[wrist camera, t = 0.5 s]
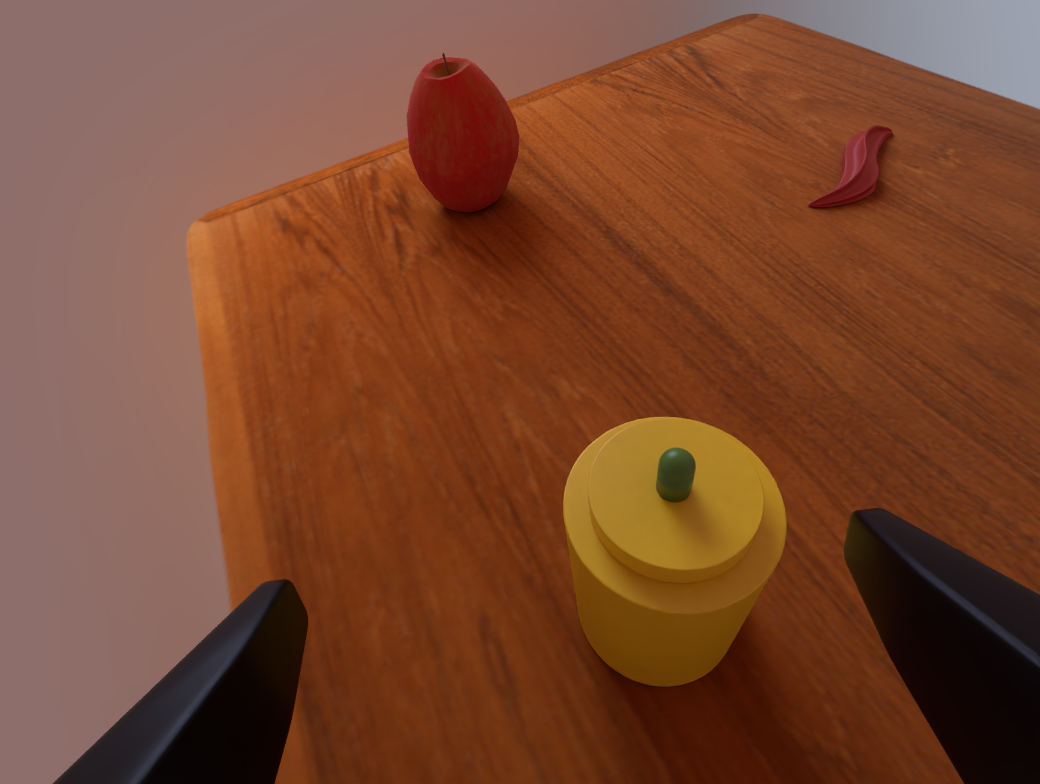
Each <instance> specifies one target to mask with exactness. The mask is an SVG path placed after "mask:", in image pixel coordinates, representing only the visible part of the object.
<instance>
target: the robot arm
mask: <svg viewBox="0 0 1040 784" xmlns="http://www.w3.org/2000/svg"><path fill="white" fill-rule="evenodd" d="M844 556H845V560H846V563H847V566H848V568H849V570H850V572H851V574H852V577H853V579H854V581H855V583H856V585H857V588H858V590H859V592H860V594H861V596H862V598H863V601H864V603H865V605H866V607H867V609H868V611H869V614H870V616H871V618H872V620H873V622H874V625H875V627H876V629H877V631H878V633H879V635H880V638H881V640H882V642H883V644H884V646H885V648H886V650H887V652H888V654H889V656H890V658H891V660H892V662H893V663H894V665H895V667H896V669H897V670H898V672H899V674H900V676H901V677H902V679H903V681H904V682H905V684H906V686H907V688H908V689H909V691H910V693H911V694H912V696H913V698H914V699H915V701H916V703H917V704H918V706H919V708H920V709H921V711H922V713H923V715H924V716H925V718H926V720H927V721H928V723H929V725H930V726H931V728H932V730H933V731H934V733H935V735H936V737H937V738H938V740H939V742H940V743H941V745H942V747H943V748H944V750H945V752H946V753H947V755H948V757H949V759H950V760H951V762H952V764H953V765H954V767H955V769H956V770H957V772H958V774H959V775H960V777H961V779H962V781H963V782H964V784H1040V595H1039V594H1037V593H1035V592H1034V591H1032V590H1030V589H1028V588H1026V587H1025V586H1023V585H1021V584H1019V583H1017V582H1015V581H1014V580H1012V579H1010V578H1008V577H1006V576H1005V575H1003V574H1001V573H999V572H997V571H995V570H994V569H992V568H990V567H988V566H986V565H985V564H983V563H981V562H979V561H977V560H976V559H974V558H972V557H970V556H968V555H966V554H965V553H963V552H961V551H959V550H957V549H956V548H954V547H952V546H950V545H948V544H947V543H945V542H943V541H941V540H939V539H937V538H936V537H934V536H932V535H930V534H928V533H927V532H925V531H923V530H921V529H919V528H917V527H916V526H914V525H912V524H910V523H908V522H907V521H905V520H903V519H901V518H899V517H898V516H896V515H894V514H892V513H890V512H888V511H886V510H884V509H881V508H873V509H865V510H857V511H854V512H853V513H852V514H851V516H850V519H849V524H848V529H847V534H846V539H845V545H844ZM307 629H308V615H307V611H306V609H305V607H304V605H303V603H302V601H301V599H300V597H299V595H298V593H297V591H296V589H295V587H294V585H293V583H292V582H291V581H289V580H286V579H283V580H275V581H267V582H264V583H262V584H261V585H260V586H258V587H257V588H256V589H255V590H254V591H253V592H252V593H251V594H250V595H249V596H248V597H247V598H246V599H245V600H244V601H243V602H242V603H241V604H240V605H239V606H238V607H237V608H235V609H234V610H233V611H232V612H231V613H230V614H229V615H228V616H227V617H226V618H225V619H224V620H223V621H222V622H221V623H220V624H219V625H218V626H217V627H216V628H215V629H214V630H213V631H211V633H209V634H208V635H207V636H206V637H205V638H204V639H203V640H202V641H201V642H200V643H199V644H198V645H197V646H196V647H195V648H194V649H193V650H192V651H191V652H190V653H189V654H187V655H186V657H184V659H182V660H181V661H180V662H179V663H178V664H177V665H176V666H175V667H174V668H173V669H172V670H171V671H170V672H169V673H168V674H167V675H166V676H165V677H164V678H163V679H162V680H160V681H159V682H158V683H157V684H156V685H155V686H154V687H153V688H152V689H151V690H150V691H149V692H148V693H147V694H146V695H145V696H144V697H143V698H142V699H141V700H139V701H138V702H137V703H136V704H135V705H134V706H133V707H132V708H131V709H130V710H129V711H128V712H127V713H126V714H125V715H124V716H123V717H122V718H121V719H120V720H119V721H118V722H117V723H116V724H114V726H112V727H111V728H110V729H109V730H108V731H107V732H106V733H105V734H104V735H103V736H102V737H101V738H100V739H99V740H98V741H97V742H96V743H95V744H94V745H93V746H92V747H90V748H89V749H88V750H87V751H86V752H85V753H84V754H83V755H82V756H81V757H80V758H79V759H78V760H77V761H76V762H75V763H74V764H73V765H72V766H71V767H70V768H69V769H68V770H67V771H66V772H64V773H63V774H62V775H61V776H60V777H59V778H58V779H57V780H56V781H55V782H54V783H53V784H274V783H275V780H276V776H277V773H278V769H279V765H280V762H281V758H282V754H283V751H284V747H285V744H286V740H287V736H288V732H289V728H290V724H291V720H292V715H293V710H294V705H295V699H296V694H297V688H298V682H299V676H300V670H301V664H302V658H303V652H304V646H305V640H306V635H307Z"/></svg>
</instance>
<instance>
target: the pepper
mask: <svg viewBox="0 0 1040 784" xmlns="http://www.w3.org/2000/svg"><path fill="white" fill-rule="evenodd" d="M563 515H564V522H565V528H566V535H567V541H568V548H569V555H570V561H571V568H572V575H573V581H574V588H575V594H576V601H577V608H578V614H579V619H580V622H581V626H582V629H583V631H584V633H585V635H586V638H587V639H588V641H589V643H590V644H591V646H592V648H593V649H594V650H595V651H596V653H597V654H598V655H599V657H600V658H601V659H602V660H603V661H604V662H605V663H606V664H608V665H609V666H610V667H611V668H613V669H614V670H615V671H617V672H618V673H620V674H622V675H623V676H625V677H627V678H629V679H632V680H634V681H636V682H639V683H643V684H646V685H652V686H661V687H670V686H678V685H683V684H686V683H690V682H693V681H695V680H697V679H699V678H701V677H703V676H704V675H706V674H707V673H709V672H710V671H711V670H712V669H713V668H714V667H715V666H717V665H718V663H719V662H720V661H721V660H722V658H723V657H724V656H725V654H726V652H727V651H728V649H729V647H730V645H731V644H732V642H733V640H734V638H735V637H736V635H737V633H738V632H739V630H740V628H741V626H742V625H743V623H744V621H745V619H746V618H747V616H748V614H749V612H750V611H751V609H752V607H753V606H754V604H755V602H756V600H757V599H758V597H759V595H760V593H761V592H762V590H763V588H764V586H765V585H766V583H767V581H768V580H769V578H770V576H771V574H772V573H773V571H774V569H775V567H776V565H777V564H778V562H779V560H780V557H781V554H782V552H783V549H784V544H785V539H786V527H787V520H786V512H785V506H784V503H783V499H782V496H781V493H780V491H779V489H778V486H777V484H776V482H775V480H774V478H773V477H772V475H771V473H770V472H769V470H768V469H767V468H766V466H765V465H764V464H763V463H762V461H761V460H760V459H759V458H758V457H757V456H756V455H755V454H754V453H753V452H752V451H751V450H750V449H749V448H748V447H746V446H745V445H744V444H743V443H741V442H740V441H739V440H737V439H735V438H734V437H732V436H731V435H729V434H728V433H725V432H723V431H721V430H719V429H717V428H715V427H713V426H710V425H707V424H705V423H701V422H698V421H694V420H690V419H683V418H677V417H651V418H645V419H639V420H635V421H631V422H628V423H625V424H622V425H620V426H617V427H615V428H613V429H611V430H609V431H608V432H606V433H604V434H603V435H601V436H600V437H598V438H597V439H596V440H594V441H593V442H592V443H591V444H590V445H589V446H588V447H587V448H586V449H585V450H584V452H583V453H582V454H581V455H580V456H579V458H578V459H577V461H576V462H575V464H574V466H573V467H572V470H571V472H570V474H569V476H568V479H567V483H566V486H565V491H564V499H563Z"/></svg>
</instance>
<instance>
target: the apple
mask: <svg viewBox="0 0 1040 784" xmlns="http://www.w3.org/2000/svg"><path fill="white" fill-rule="evenodd" d="M407 127H408V142H409V153H410V156H411V158H412V161H413V164H414V166H415V169H416V171H417V174H418V176H419V178H420V180H421V181H422V183H423V184H424V185H425V187H426V188H427V189H428V190H429V192H430V193H431V194H432V195H433V197H434V198H435V199H436V200H438V201H439V202H440V203H441V204H442V205H444V206H445V207H446V208H448V209H451V210H454V211H459V212H475V211H478V210H481V209H484V208H486V207H487V206H489V205H491V204H492V203H494V202H496V201H497V200H498V199H499V197H500V196H501V195H502V193H503V192H504V191H505V189H506V187H507V185H508V182H509V179H510V176H511V174H512V171H513V168H514V165H515V162H516V160H517V156H518V146H519V134H518V130H517V125H516V121H515V119H514V117H513V115H512V113H511V111H510V109H509V107H508V105H507V103H506V100H505V99H504V97H503V96H502V94H501V93H500V91H499V90H498V88H497V87H496V86H495V84H494V83H493V82H492V81H491V80H490V79H489V78H488V76H487V75H486V74H485V73H484V72H483V71H482V70H481V69H480V68H479V67H478V66H477V65H476V64H474V63H473V62H471V61H469V60H467V59H461V58H445V55H444V53H443V58H440V59H436V60H433V61H432V62H430V63H429V64H427V65H426V66H425V67H424V68H423V69H422V71H421V72H420V74H419V75H418V77H417V78H416V81H415V83H414V86H413V90H412V92H411V95H410V101H409V106H408V112H407Z"/></svg>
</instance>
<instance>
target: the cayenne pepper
mask: <svg viewBox="0 0 1040 784" xmlns="http://www.w3.org/2000/svg"><path fill="white" fill-rule="evenodd" d="M892 134H893V132H892V130H891V129H889V128H887V127H883V126H879V125H874V126H872V127H870V128H869V129H868V130H867V131H864V132H861V133H858V134H856V135H854V136H853V137H852V138H851V139H850V140H849V141H848V143H847V145H846V148H845V152H844V154H843V157H842V178H841V181H840V183H839V184H838V186H837V187H836V188H835V189H833V190H832V191H831V192H829V193H828V194H826V195H824V196H822V197H820V198H818V199H816V200H814V201H812V202H811V203H810V204H809V205H808V206H811V207H831V206H838V205H844V204H848V203H852V202H855V201H858V200H861V199H863V198H865V197H867V196H869V195H870V194H871V193H872V192H873V191H874V190H875V188H876V181H877V179H878V176H879V169H878V165H877V161H876V155H877V152H878V150H879V148H880V147H881V145H882V143H883V141H884V140H885V139H886V138H887V137H889V136H890V135H892Z"/></svg>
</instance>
